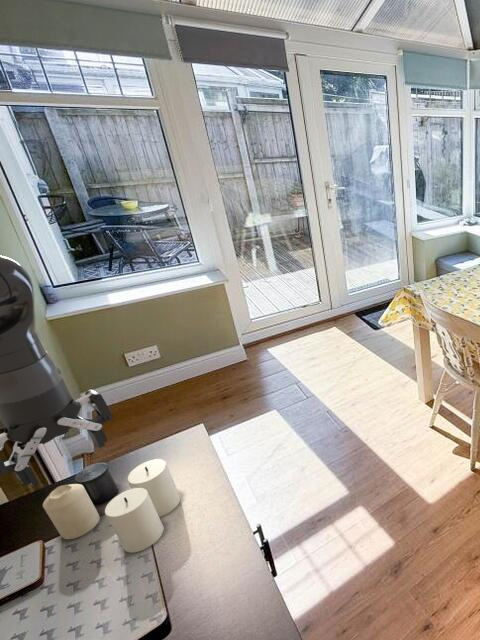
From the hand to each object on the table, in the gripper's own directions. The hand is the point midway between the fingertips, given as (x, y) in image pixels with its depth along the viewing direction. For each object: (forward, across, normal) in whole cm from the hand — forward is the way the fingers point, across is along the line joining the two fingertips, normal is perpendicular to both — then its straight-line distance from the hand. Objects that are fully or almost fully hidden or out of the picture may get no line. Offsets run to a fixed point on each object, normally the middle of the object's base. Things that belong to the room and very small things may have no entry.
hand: (68, 463), depth 69 cm
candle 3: (+22, -4, +3) cm, 22 cm away
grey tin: (+22, -5, -14) cm, 26 cm away
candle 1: (+22, +1, -10) cm, 24 cm away
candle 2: (+22, -9, -1) cm, 23 cm away
